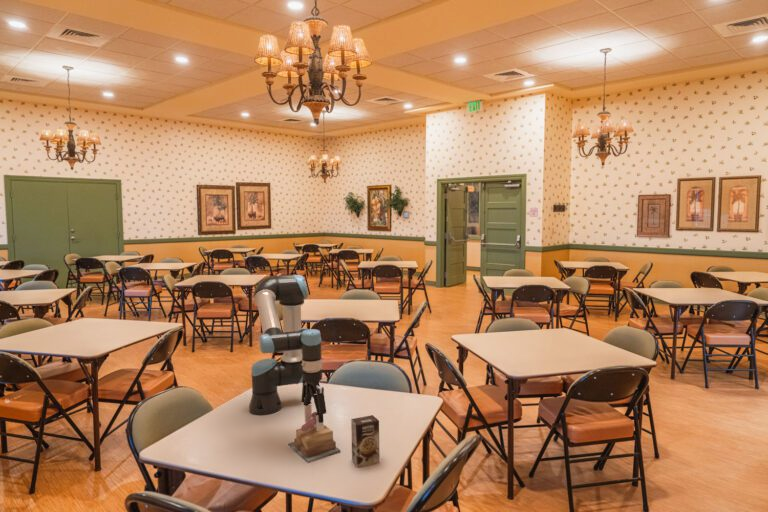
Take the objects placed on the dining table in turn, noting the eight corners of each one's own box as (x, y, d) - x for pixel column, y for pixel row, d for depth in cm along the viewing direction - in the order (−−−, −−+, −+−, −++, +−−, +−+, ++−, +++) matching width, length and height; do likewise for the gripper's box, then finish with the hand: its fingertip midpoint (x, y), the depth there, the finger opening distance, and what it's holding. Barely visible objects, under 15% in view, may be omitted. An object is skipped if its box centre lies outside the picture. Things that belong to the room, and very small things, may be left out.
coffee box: (357, 467, 179) (356, 425, 178) (351, 460, 185) (350, 418, 184) (380, 462, 183) (379, 420, 181) (373, 454, 189) (372, 414, 187)
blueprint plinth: (288, 445, 198) (287, 426, 197) (319, 435, 206) (318, 417, 205) (307, 463, 183) (307, 442, 183) (340, 452, 191) (339, 432, 191)
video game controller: (309, 436, 188) (316, 421, 186) (299, 430, 188) (306, 415, 187) (318, 425, 197) (325, 411, 196) (309, 419, 198) (316, 405, 197)
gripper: (291, 364, 198) (293, 418, 200) (316, 379, 180) (318, 438, 182) (308, 361, 202) (310, 414, 204) (334, 375, 184) (336, 432, 186)
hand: (314, 425), depth 193 cm, fingers closed on video game controller, 9 cm apart
